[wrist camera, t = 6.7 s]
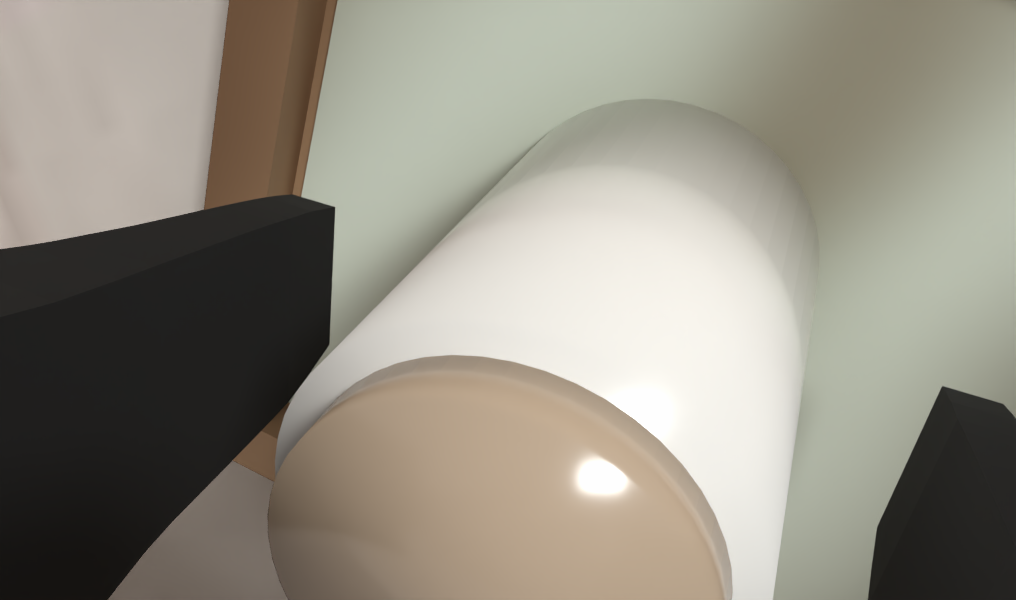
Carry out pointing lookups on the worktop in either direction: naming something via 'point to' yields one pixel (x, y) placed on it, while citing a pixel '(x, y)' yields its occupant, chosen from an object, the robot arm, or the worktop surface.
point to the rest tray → (707, 84)
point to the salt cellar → (569, 384)
